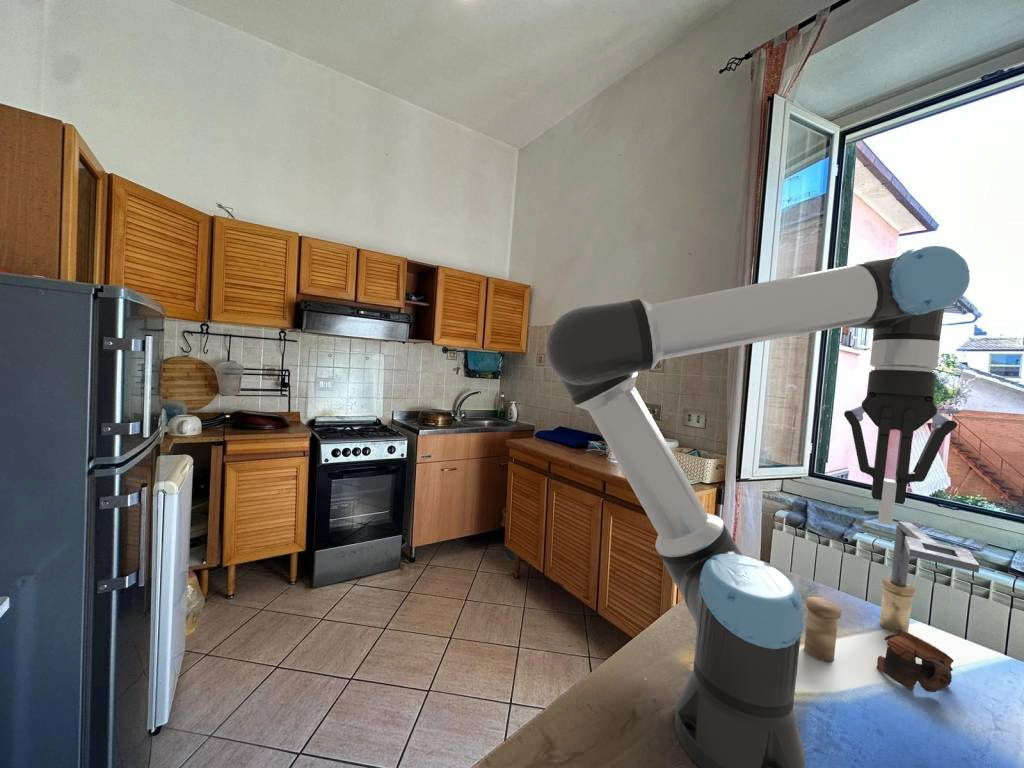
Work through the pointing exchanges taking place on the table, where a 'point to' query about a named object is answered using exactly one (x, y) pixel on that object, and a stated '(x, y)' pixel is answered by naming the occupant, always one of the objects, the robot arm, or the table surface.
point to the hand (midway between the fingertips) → (885, 521)
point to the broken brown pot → (904, 665)
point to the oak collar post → (821, 628)
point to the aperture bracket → (896, 588)
